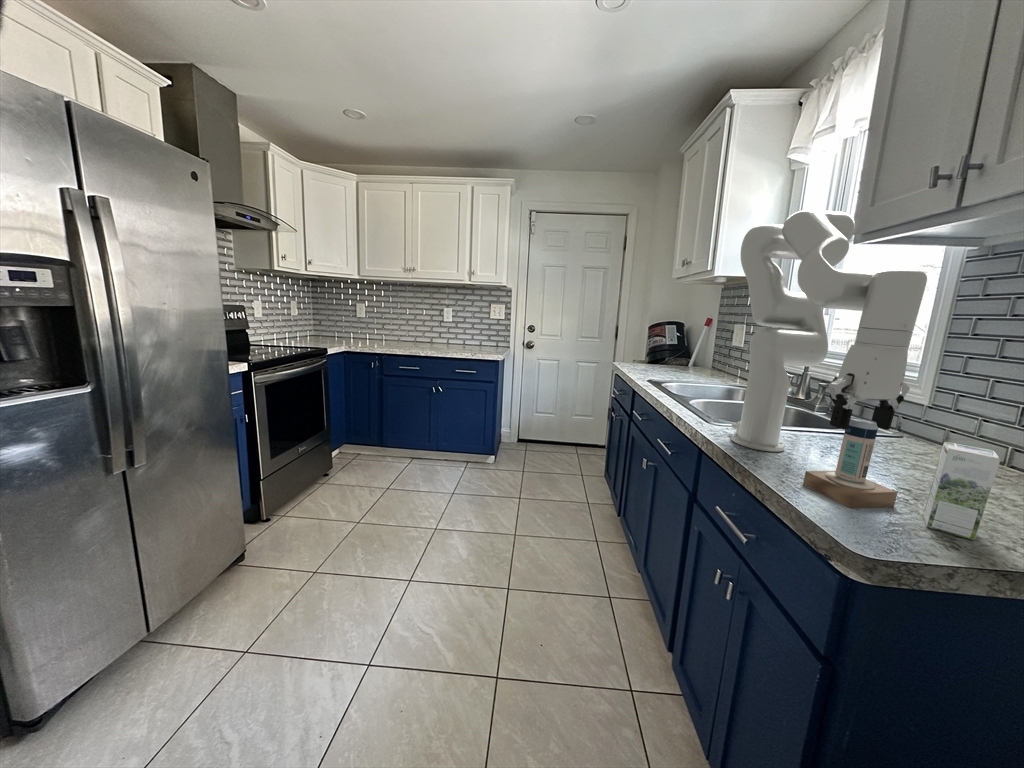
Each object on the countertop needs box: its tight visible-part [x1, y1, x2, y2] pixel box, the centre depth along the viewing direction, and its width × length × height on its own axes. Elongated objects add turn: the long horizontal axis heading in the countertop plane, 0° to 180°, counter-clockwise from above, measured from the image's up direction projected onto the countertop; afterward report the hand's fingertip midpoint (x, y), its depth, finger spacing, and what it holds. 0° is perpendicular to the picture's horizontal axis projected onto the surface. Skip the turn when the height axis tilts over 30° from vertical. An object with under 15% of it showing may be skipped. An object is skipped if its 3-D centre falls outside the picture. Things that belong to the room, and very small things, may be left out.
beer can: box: [835, 417, 880, 483], centre depth 78 cm, size 5×5×12 cm
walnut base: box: [802, 470, 898, 509], centre depth 80 cm, size 10×10×3 cm
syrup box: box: [923, 441, 1001, 541], centre depth 68 cm, size 6×6×14 cm
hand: (859, 427), depth 78 cm, fingers open, 9 cm apart
